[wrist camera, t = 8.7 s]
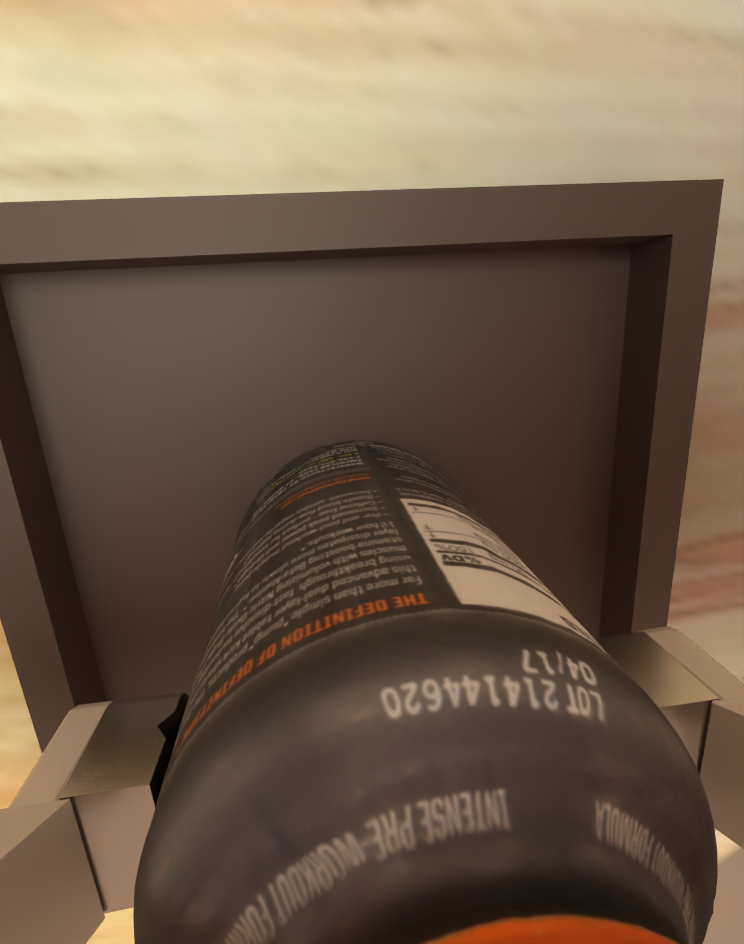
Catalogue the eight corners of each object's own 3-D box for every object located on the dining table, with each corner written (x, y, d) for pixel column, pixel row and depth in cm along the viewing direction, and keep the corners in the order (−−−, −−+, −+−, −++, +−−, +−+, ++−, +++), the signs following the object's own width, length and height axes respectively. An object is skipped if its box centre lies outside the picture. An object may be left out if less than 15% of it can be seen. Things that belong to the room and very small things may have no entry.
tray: (658, 202, 12) (723, 179, 10) (607, 732, 17) (646, 784, 15) (-49, 228, 11) (-128, 206, 9) (109, 808, 15) (81, 878, 13)
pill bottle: (259, 662, 14) (83, 1921, 3) (218, 452, 12) (-601, 1640, 1) (470, 627, 14) (991, 1577, 3) (461, 423, 12) (1447, 1033, 2)
